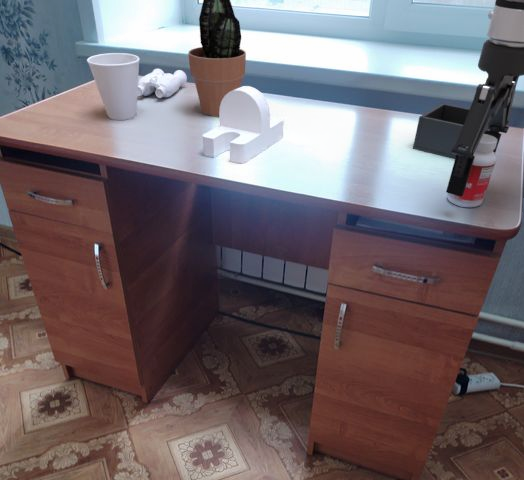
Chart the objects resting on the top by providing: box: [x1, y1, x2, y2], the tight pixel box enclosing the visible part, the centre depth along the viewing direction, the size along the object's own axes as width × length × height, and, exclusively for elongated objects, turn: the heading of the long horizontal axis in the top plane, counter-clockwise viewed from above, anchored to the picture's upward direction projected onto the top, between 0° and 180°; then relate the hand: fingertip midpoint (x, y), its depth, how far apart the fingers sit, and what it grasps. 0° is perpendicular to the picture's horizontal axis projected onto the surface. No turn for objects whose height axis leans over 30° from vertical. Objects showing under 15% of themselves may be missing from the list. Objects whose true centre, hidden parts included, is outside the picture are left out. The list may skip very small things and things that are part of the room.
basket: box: [412, 102, 490, 160], centre depth 109 cm, size 13×13×7 cm
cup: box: [86, 52, 141, 121], centre depth 120 cm, size 12×12×12 cm
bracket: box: [202, 85, 285, 164], centre depth 106 cm, size 19×10×11 cm, turn 152°
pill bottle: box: [446, 134, 497, 208], centre depth 87 cm, size 6×6×11 cm
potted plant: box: [187, 0, 247, 117], centre depth 120 cm, size 14×14×25 cm
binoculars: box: [137, 68, 188, 99], centre depth 138 cm, size 10×16×5 cm, turn 168°
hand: (468, 181), depth 88 cm, fingers open, 13 cm apart
